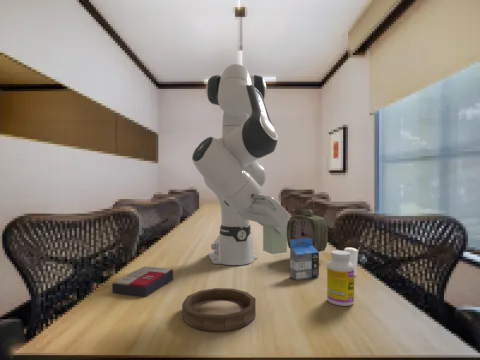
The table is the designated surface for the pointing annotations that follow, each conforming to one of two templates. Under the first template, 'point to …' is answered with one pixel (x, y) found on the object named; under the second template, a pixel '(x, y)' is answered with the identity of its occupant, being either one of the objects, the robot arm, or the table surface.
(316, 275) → the label tape cartridge
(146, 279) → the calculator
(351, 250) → the milkshake
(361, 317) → the table surface
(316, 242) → the tabletop clock
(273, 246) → the block
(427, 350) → the table surface
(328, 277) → the supplement bottle
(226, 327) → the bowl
